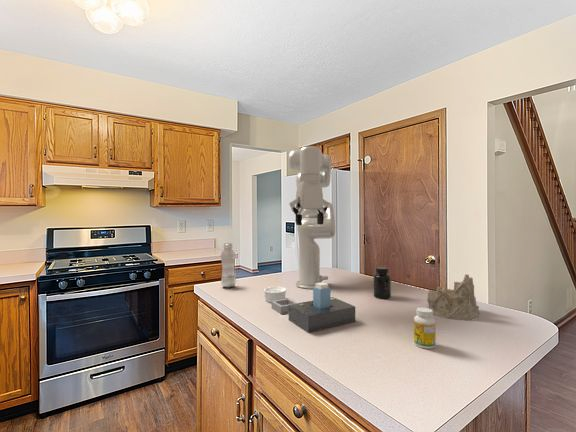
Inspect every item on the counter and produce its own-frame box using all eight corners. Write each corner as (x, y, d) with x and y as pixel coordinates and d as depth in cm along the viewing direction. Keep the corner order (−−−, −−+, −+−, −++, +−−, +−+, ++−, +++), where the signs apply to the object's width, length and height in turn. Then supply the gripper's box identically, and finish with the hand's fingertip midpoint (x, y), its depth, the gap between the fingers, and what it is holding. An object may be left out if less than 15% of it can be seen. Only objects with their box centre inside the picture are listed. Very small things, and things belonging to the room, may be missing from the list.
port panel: (332, 310, 112) (332, 296, 112) (355, 321, 102) (355, 305, 101) (288, 319, 103) (288, 303, 103) (308, 332, 93) (308, 315, 93)
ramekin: (283, 304, 120) (283, 292, 120) (261, 302, 122) (261, 291, 122) (288, 297, 129) (288, 287, 129) (267, 296, 131) (267, 286, 131)
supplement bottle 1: (388, 294, 132) (389, 266, 132) (392, 299, 125) (392, 269, 125) (372, 294, 133) (372, 266, 132) (374, 299, 126) (375, 269, 126)
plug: (323, 317, 105) (323, 281, 105) (330, 321, 102) (330, 284, 101) (313, 320, 103) (313, 283, 103) (320, 324, 100) (320, 285, 100)
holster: (288, 304, 119) (288, 298, 119) (298, 310, 113) (298, 303, 113) (271, 307, 116) (271, 301, 116) (280, 313, 109) (280, 306, 109)
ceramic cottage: (484, 310, 112) (481, 268, 111) (472, 325, 100) (469, 278, 99) (437, 304, 122) (435, 265, 122) (422, 317, 110) (419, 274, 110)
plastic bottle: (234, 288, 142) (234, 244, 141) (219, 288, 142) (219, 244, 142) (237, 285, 148) (236, 243, 148) (222, 285, 149) (222, 243, 148)
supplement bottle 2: (439, 349, 82) (439, 313, 82) (418, 349, 82) (418, 313, 82) (429, 340, 87) (430, 306, 87) (410, 340, 88) (410, 306, 87)
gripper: (322, 181, 127) (322, 223, 128) (285, 179, 119) (285, 224, 120) (334, 179, 121) (334, 224, 122) (295, 178, 113) (295, 226, 113)
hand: (309, 224), depth 121 cm, fingers open, 9 cm apart
